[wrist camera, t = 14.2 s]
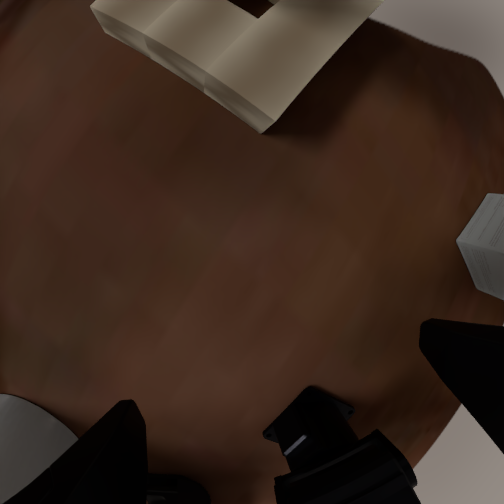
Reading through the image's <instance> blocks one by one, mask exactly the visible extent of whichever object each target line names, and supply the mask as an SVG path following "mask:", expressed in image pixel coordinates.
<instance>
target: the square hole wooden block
mask: <svg viewBox="0 0 504 504" xmlns="http://www.w3.org/2000/svg"><path fill="white" fill-rule="evenodd" d="M268 1H270V2H271V3H273V4H274V6H273V7H271V8H270V9H269V10H268V11H267V12H266V13H264V14H263V15H262V16H261V17H260V18H259V19H257V18H256V17H254V16H252V15H251V14H249V13H248V12H246V11H244V10H243V9H241V8H239V7H238V6H236V5H234V4H233V3H231V2H229V1H227V0H96V1H95V2H94V3H93V4H92V5H91V6H90V8H91V9H92V11H93V13H94V15H95V16H96V18H97V20H98V21H99V23H100V25H101V26H102V28H103V30H104V32H105V33H107V34H109V35H111V36H112V37H114V38H116V39H118V40H120V41H121V42H123V43H125V44H127V45H129V46H130V47H132V48H134V49H135V50H137V51H139V52H141V53H142V54H144V55H146V56H147V57H149V58H151V59H152V60H154V61H156V62H157V63H159V64H160V65H162V66H164V67H165V68H167V69H168V70H170V71H172V72H173V73H175V74H176V75H178V76H179V77H181V78H183V79H184V80H186V81H187V82H189V83H190V84H192V85H193V86H195V87H196V88H198V89H199V90H201V91H202V92H203V93H205V94H206V95H208V96H209V97H211V98H212V99H214V100H215V101H216V102H218V103H219V104H221V105H222V106H224V107H225V108H226V109H228V110H229V111H231V112H232V113H233V114H235V115H236V116H237V117H239V118H240V119H241V120H243V121H244V122H246V123H247V124H248V125H250V126H251V127H252V128H253V129H255V130H256V131H257V132H259V133H260V134H262V133H263V132H264V131H265V130H266V129H267V128H269V127H270V126H271V125H272V124H273V123H274V122H276V120H277V119H278V118H279V117H280V116H281V114H282V113H283V112H284V111H285V109H286V108H287V107H288V106H289V105H290V103H291V102H292V101H293V100H294V99H295V98H296V96H297V95H298V94H299V93H300V92H301V90H302V89H303V88H304V87H305V86H306V85H307V83H308V82H309V81H310V80H311V79H312V78H313V77H314V75H315V74H316V73H317V72H318V71H319V70H320V69H321V67H322V66H323V65H324V64H325V63H326V62H327V61H328V60H329V58H330V57H331V56H332V55H333V54H334V53H335V52H336V51H337V50H338V49H339V47H340V46H341V45H342V44H343V43H344V42H345V41H346V40H347V39H348V38H349V37H350V36H351V34H352V33H353V32H354V31H355V30H356V29H357V28H358V27H359V26H360V25H361V24H362V23H363V22H364V21H365V20H366V19H367V18H368V17H369V16H370V14H372V12H373V11H374V10H375V9H376V8H377V7H378V6H379V5H380V4H381V3H382V2H383V1H384V0H268Z"/></svg>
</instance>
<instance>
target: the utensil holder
mask: <svg viewBox="0 0 504 504" xmlns="http://www.w3.org/2000/svg"><path fill="white" fill-rule="evenodd" d="M77 440H78V438H77V436H76V435H75V434H74V433H73V432H72V431H71V430H70V429H69V428H67V427H66V426H65V425H64V424H63V423H61V422H60V421H59V420H57V419H56V418H55V417H53V416H52V415H51V414H49V413H48V412H46V411H45V410H43V409H41V408H40V407H38V406H36V405H34V404H32V403H30V402H28V401H26V400H24V399H21V398H19V397H16V396H12V395H7V394H0V504H2V503H4V502H5V501H7V500H8V499H9V498H11V497H12V496H14V495H15V494H16V493H18V492H19V491H20V490H22V489H23V488H24V487H26V486H27V485H28V484H30V483H31V482H32V481H33V480H34V479H35V478H37V477H38V476H39V475H40V474H41V473H42V472H43V471H44V470H46V469H47V468H48V467H49V468H50V465H51V464H52V463H53V462H54V461H55V460H57V459H58V458H59V457H60V456H61V455H62V454H63V453H64V452H65V451H66V450H67V449H69V448H70V447H71V446H72V445H73V444H74V443H75V442H76V441H77Z"/></svg>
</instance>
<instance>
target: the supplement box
mask: <svg viewBox="0 0 504 504" xmlns="http://www.w3.org/2000/svg"><path fill="white" fill-rule="evenodd" d="M456 242H457V245H458V247H459V249H460V251H461V253H462V256H463V258H464V260H465V263H466V265H467V267H468V270H469V272H470V274H471V277H472V279H473V282H474V284H475V286H476V288H477V289H478V290H480V291H483V292H485V293H488V294H490V295H492V296H495V297H497V298H499V299H502V300H504V195H503V194H492V193H488V194H487V195H486V197H485V198H484V200H483V202H482V203H481V205H480V206H479V208H478V209H477V211H476V212H475V214H474V215H473V217H472V218H471V220H470V221H469V223H468V224H467V226H466V227H465V229H464V230H463V231H462V233H461V234H460V236H459V237H458V238H457V240H456Z"/></svg>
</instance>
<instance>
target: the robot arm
mask: <svg viewBox="0 0 504 504" xmlns="http://www.w3.org/2000/svg"><path fill="white" fill-rule="evenodd" d="M419 347H420V350H421V352H422V353H423V354H424V356H425V357H426V359H427V360H428V361H429V363H430V364H431V366H432V367H433V368H434V370H435V371H436V373H437V374H438V375H439V377H440V378H441V380H442V381H443V382H444V383H445V385H446V386H447V387H448V388H449V389H450V390H451V391H452V393H453V394H454V395H455V396H456V397H457V398H458V400H459V401H460V402H461V403H462V404H463V405H464V407H465V408H466V409H467V410H468V411H469V412H470V414H471V415H472V416H473V417H474V418H475V420H476V421H477V422H478V423H479V424H480V426H481V427H482V428H483V429H484V430H485V432H486V433H487V434H488V435H489V436H490V438H491V439H492V440H493V441H494V443H495V444H496V445H497V446H498V448H499V449H500V450H501V451H502V453H503V454H504V326H495V325H485V324H476V323H467V322H459V321H450V320H442V319H434V318H431V319H429V320H426V321H424V322H422V324H421V326H420V338H419ZM308 392H310V393H309V394H307V393H308ZM354 413H355V409H354V407H353V406H351V405H349V404H347V403H344V402H342V401H340V400H338V399H336V398H334V397H332V396H329V395H327V394H325V393H323V392H321V391H319V390H317V389H315V388H313V387H307V388H305V389H304V390H303V391H302V392H301V393H300V394H299V395H298V397H297V398H296V399H295V400H294V401H293V402H292V403H291V404H290V405H289V406H288V407H287V408H286V409H285V410H284V411H283V412H282V413H281V414H280V415H279V416H278V417H277V418H276V419H275V420H274V421H273V422H272V423H271V424H270V425H269V426H268V427H267V428H266V429H265V430H264V431H263V437H264V438H265V439H268V440H270V441H273V442H276V443H279V446H280V448H281V451H282V454H283V456H285V457H286V460H287V463H288V465H289V468H290V471H291V472H290V473H288V474H285V475H283V476H281V475H280V476H277V477H275V478H274V480H275V486H274V489H275V490H274V491H275V495H276V501H277V504H421V503H420V501H419V499H418V497H417V495H416V493H415V491H414V490H413V488H414V487H415V486H417V479H416V476H415V474H414V471H413V469H412V467H411V466H410V464H409V462H408V461H407V459H406V458H405V456H404V455H403V454H402V453H401V452H400V451H399V450H398V449H397V448H396V447H395V446H394V445H393V444H392V443H391V442H390V441H389V440H388V439H387V438H386V437H385V436H384V435H383V434H382V433H381V432H380V431H379V430H378V429H376V430H374V431H373V432H371V434H369V435H368V436H366V437H364V438H362V439H360V440H359V439H358V438H357V436H356V435H355V433H354V431H353V430H352V428H351V427H350V425H349V424H348V422H347V420H348V419H349V418H350V417H351V416H352V415H353V414H354ZM147 478H148V461H147V444H146V425H145V421H144V419H143V417H142V415H141V413H140V411H139V409H138V407H137V405H136V403H135V401H134V400H132V399H129V400H121V401H119V402H118V403H117V404H116V405H115V406H114V407H112V408H111V409H110V410H109V411H108V412H107V413H106V414H105V415H104V416H103V417H102V418H101V419H100V420H99V421H98V422H97V423H95V424H94V425H93V426H92V427H91V428H90V429H89V430H88V431H87V432H86V433H85V434H84V435H83V436H81V437H80V438H79V439H78V440H77V441H76V442H75V443H74V444H73V445H72V446H71V447H70V448H69V449H67V450H66V451H65V452H64V453H63V454H62V455H61V456H60V457H59V458H58V459H57V460H55V461H54V462H53V463H52V464H51V465H50V468H49V467H48V468H47V469H46V470H44V471H43V472H42V473H41V474H40V475H39V476H38V477H37V478H35V479H34V480H33V481H32V482H31V483H30V484H28V485H27V486H26V487H24V488H23V489H22V490H20V491H19V492H18V493H16V494H15V495H14V496H12V497H11V498H9V499H8V500H7V501H5V502H4V503H2V504H146V500H147Z"/></svg>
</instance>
